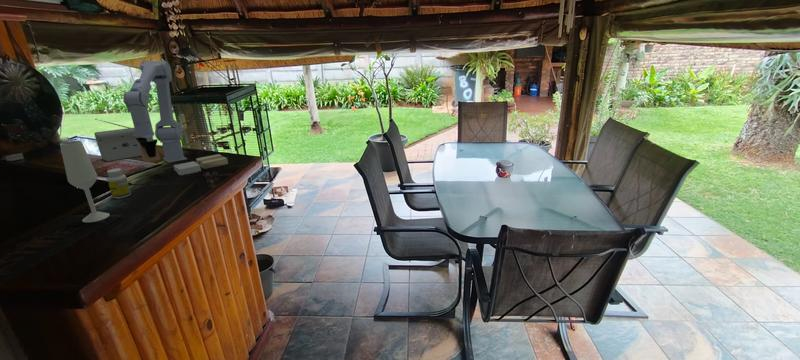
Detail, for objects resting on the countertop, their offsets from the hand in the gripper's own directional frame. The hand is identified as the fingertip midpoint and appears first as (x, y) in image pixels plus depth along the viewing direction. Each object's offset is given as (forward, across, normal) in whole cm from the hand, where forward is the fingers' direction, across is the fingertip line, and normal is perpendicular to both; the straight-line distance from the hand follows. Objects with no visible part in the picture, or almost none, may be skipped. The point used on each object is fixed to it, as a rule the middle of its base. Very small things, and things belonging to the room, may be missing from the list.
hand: (150, 155), depth 144 cm
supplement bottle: (+9, +17, -14) cm, 24 cm away
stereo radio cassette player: (+9, -39, -2) cm, 40 cm away
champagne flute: (+9, +32, -23) cm, 40 cm away
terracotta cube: (+2, 0, 0) cm, 2 cm away
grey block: (+9, +4, +11) cm, 15 cm away
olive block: (+9, +1, +22) cm, 24 cm away
